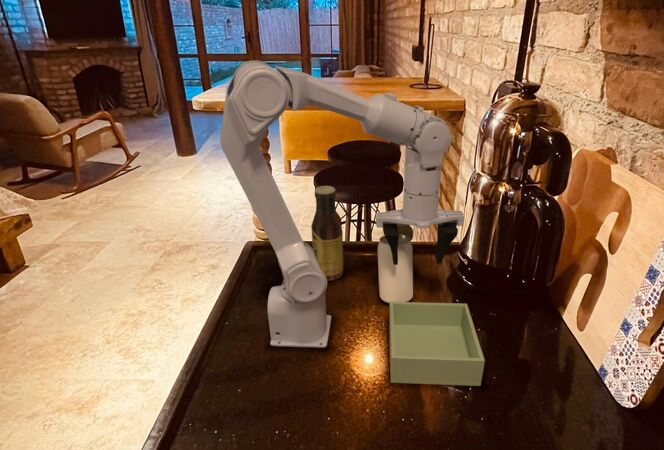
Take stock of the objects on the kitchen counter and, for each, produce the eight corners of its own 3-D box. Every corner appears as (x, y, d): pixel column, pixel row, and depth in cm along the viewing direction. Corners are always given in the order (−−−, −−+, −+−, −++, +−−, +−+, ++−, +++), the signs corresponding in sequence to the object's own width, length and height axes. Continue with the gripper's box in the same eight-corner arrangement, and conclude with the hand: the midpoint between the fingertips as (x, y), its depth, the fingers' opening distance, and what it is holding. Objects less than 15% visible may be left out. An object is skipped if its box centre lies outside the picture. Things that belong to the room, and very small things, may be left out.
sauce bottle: (318, 265, 90) (313, 181, 81) (345, 267, 89) (343, 182, 81) (311, 282, 84) (305, 194, 76) (341, 284, 84) (338, 195, 75)
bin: (390, 382, 61) (391, 357, 58) (388, 324, 72) (389, 301, 70) (480, 386, 60) (485, 360, 58) (463, 326, 72) (467, 303, 69)
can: (411, 306, 75) (411, 245, 71) (377, 304, 76) (374, 244, 73) (414, 290, 81) (413, 233, 78) (382, 288, 82) (379, 233, 79)
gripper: (378, 199, 62) (377, 274, 68) (473, 197, 62) (463, 272, 68) (375, 183, 68) (374, 253, 74) (461, 181, 69) (453, 251, 75)
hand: (416, 261), depth 72 cm, fingers open, 7 cm apart
